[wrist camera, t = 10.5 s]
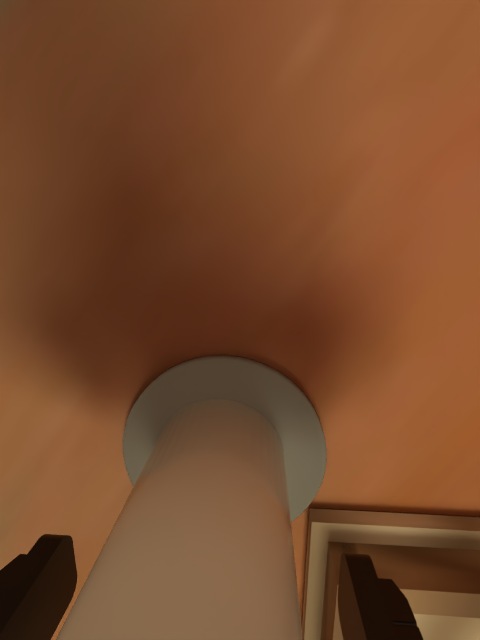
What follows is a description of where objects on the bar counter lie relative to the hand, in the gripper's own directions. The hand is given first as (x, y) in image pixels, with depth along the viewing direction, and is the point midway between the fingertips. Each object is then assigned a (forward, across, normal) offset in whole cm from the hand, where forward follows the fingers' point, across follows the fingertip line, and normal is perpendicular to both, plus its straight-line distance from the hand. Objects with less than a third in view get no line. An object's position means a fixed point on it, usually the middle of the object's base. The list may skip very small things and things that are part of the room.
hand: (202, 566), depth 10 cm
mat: (+6, 0, 0) cm, 6 cm away
